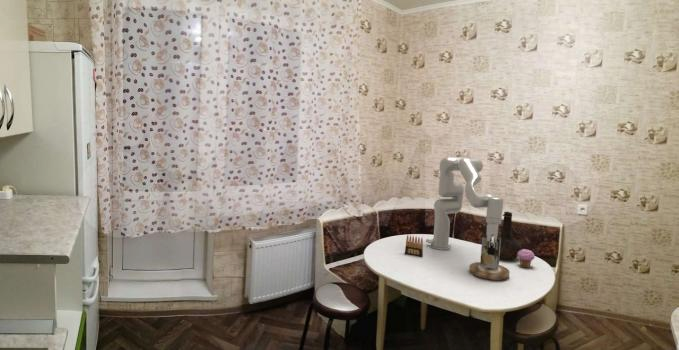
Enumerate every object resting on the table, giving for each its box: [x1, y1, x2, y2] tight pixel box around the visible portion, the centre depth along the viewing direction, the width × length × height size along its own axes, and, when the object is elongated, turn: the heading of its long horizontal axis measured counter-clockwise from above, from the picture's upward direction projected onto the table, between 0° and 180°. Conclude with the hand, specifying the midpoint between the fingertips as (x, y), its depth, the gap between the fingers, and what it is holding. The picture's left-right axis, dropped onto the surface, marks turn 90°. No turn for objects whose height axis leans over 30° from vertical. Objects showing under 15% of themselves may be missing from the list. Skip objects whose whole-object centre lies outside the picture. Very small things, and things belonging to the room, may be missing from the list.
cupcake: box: [517, 248, 535, 269], centre depth 227 cm, size 9×9×10 cm
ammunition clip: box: [404, 234, 424, 258], centre depth 239 cm, size 11×2×12 cm, turn 60°
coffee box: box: [479, 234, 501, 269], centre depth 213 cm, size 9×6×16 cm
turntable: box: [469, 261, 511, 281], centre depth 214 cm, size 20×20×2 cm
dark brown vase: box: [498, 211, 522, 261], centre depth 240 cm, size 18×18×28 cm
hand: (490, 252), depth 213 cm, fingers closed on coffee box, 7 cm apart
